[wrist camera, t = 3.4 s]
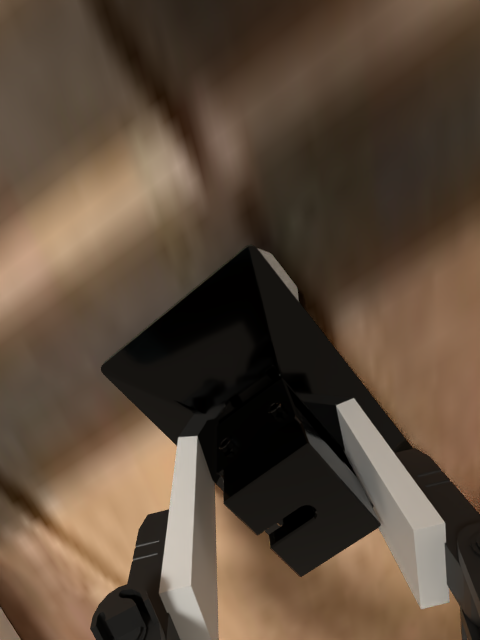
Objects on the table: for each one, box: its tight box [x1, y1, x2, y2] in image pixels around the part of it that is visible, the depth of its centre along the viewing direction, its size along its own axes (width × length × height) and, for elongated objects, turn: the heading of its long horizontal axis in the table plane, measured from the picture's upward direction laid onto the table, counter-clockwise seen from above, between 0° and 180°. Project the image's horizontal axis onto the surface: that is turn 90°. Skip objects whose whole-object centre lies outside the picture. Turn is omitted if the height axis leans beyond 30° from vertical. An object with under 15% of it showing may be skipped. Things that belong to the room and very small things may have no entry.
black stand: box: [101, 245, 413, 577], centre depth 12 cm, size 12×7×5 cm, turn 39°
